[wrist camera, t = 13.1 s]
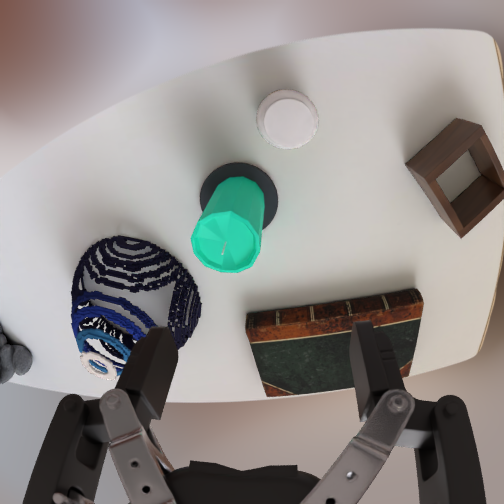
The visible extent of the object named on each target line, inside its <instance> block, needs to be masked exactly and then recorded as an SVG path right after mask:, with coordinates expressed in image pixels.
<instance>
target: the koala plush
mask: <svg viewBox="0 0 504 504" xmlns="http://www.w3.org/2000/svg"><path fill="white" fill-rule="evenodd" d="M6 343H7V339H6V337H5V336H4V335H3V334H2V328H1V325H0V383H2V384H3V383H5V382H7V381H8V380H10V379H11V378H12V376H13V375H14V372H16V374H18V375H20V376H21V375H24V374H25V373H26V372H28V371H29V369H30V367H31V365H32V356H31V354H30V352H29V351H28V350H27V349H26V348H25V347H23V346H21V345H8V344H7V345H6Z"/></svg>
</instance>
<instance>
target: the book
mask: <svg viewBox="0 0 504 504" xmlns="http://www.w3.org/2000/svg"><path fill="white" fill-rule="evenodd" d="M423 305H424V302H423V298H422V295H421V293H420V292H419V290H418V289H412V290H407V291H402V292H396V293H390V294H384V295H379V296H373V297H366V298H360V299H354V300H347V301H341V302H334V303H327V304H320V305H313V306H306V307H298V308H290V309H283V310H274V311H266V312H257V313H249V314H247V315H246V323H245V330H246V334H247V336H248V339H249V342H250V345H251V348H252V352H253V355H254V358H255V361H256V365H257V368H258V371H259V374H260V377H261V381H262V384H263V387H264V390H265V393H266V396H267V397H276V396H289V395H299V394H309V393H317V392H325V391H333V390H340V389H346V388H353V387H355V385H354V379H353V373H352V367H351V362H350V353H349V348H350V340H351V333H352V326H353V322H356V321H367V320H371V322H372V325H373V328H374V331H375V332H380V331H383V332H384V333H385V334H386V335H387V336H388V337H389V339H390V340H391V343H392V346H393V351H394V353H395V356H396V359H397V362H398V366H399V369H400V373H401V376H402V378H404V377H407V376H409V373H410V369H411V365H412V360H413V356H414V352H415V347H416V343H417V338H418V333H419V327H420V322H421V316H422V311H423Z"/></svg>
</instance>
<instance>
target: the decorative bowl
mask: <svg viewBox="0 0 504 504" xmlns="http://www.w3.org/2000/svg"><path fill="white" fill-rule="evenodd" d="M127 240H130V241H135V242H140V243H139V244H137V243H136V244H134V245H131V244H127V242H126V241H127ZM114 241H116V244H117V246H120V248H125V249H129V250H134V251H137V250H140V249H141V250H142V249H145V248H146V246H150V248H152V250H151V251H150V252H148V253H147V252H145V254H140V255H139V254H137V255H135V256H132V255H127V254H123V253H118V251H116V250H115V248H113V242H114ZM106 242H107V247H108V249H109V251H110V253H113V255H116V256H117V257H121V258H126V259H131V260H133V259H136V258H138V259H140V258H143V257H148V256H151V255H152V254H157V252H158V251H159V252H160V253H159V254H158V255H155V257H154V258H151V259H150V258H149V259H146V260H143V261H141V260H139V261H136V262H134V261H129V260H126V261H123V260H119V258H116V257H111V256H110V254H109V253H107V252H106V250H105V248H106V246H105V244H106ZM98 246H99V252H100V254H101V255H102V257H103V258H102V261H103V263H104V264H106V266H109V267H113V268H116V266H117V267H121V268H123V270H126V271H131V272H135V271H137V272H138V270H139V271H140V270H141V268H143V267H145V268H146V266H147V267H149V266H151V265H154V264H157V265H158V266H159V265H160V261H161V262H162V263H163V262H166V260H169V259H171V261H170V263H169V264H166V266H161V267H160V268H157V270H154V271H151V270H149V272H144V273H142V272H141V274H140V273H139V274H134V273H132V274H131V276H128V275H127V273H123V272H119V271H114V270H110V269H108V270H105V269H106V267H105V265H102V263H100V262H99V260H98V259H97V258H96V257H97V255H96V251H97V248H98ZM90 255H91V261H92V265H96V264H97V265H96V266H95V268H97V269H98V270H99V273H100V275H102V276H106V275H109V276H113V277H117V278H122V279H126V280H128V282H131V283H134V282H138V284H135V286H131V287H129V286H124V284H123V283H119V282H115V281H111V280H108V278H105V277H100V278H98V274H97V273H96V272H95V271H92V266H90V262H89V258H90ZM176 260H177V259H175V257H173V256H171V254H169V252H165V250H164V249H160V247H157V246H156V244H151V242H149V241H144V240H139V239H134V238H129V237H124V236H119V235H118V237H115V236H113V238H111V239H109V238H105V239H102V240H101V241H100V242H99V241H98V242H97V243H96V244H95V245H92V247H89V249H88V250H87V252H85V254H84V255H83V256H82V257H81V260H80V261H79V264H78V266H77V268H76V270H75V274H74V275H75V276H73V277H74V278H73V281H72V282H73V285H72V291H71V295H72V311H71V312H72V314H71V318H72V323H71V325H72V329H73V332H74V336H75V338H76V342H77V345H78V348H79V351H80V353H82V356H80V359H81V362H82V365H84V366H85V368H86V369H87V370H88V372H90V373H91V374H94V375H96V377H99V378H102V379H105V380H107V379H109V380H114V379H116V376H119V375H121V373H122V371H123V369H121V368H118V367H115V366H113V365H116V366H120V367H123V368H124V366H125V364H121V363H118V362H115V360H111V359H110V358H108V357H105V355H102V354H100V352H99V351H96V350H95V349H94V348H93V347H92V346H90V345H89V343H88V342H87V341H86V339H88V338H90V339H93V338H94V339H97V340H98V339H99V340H100V342H101V344H102V346H103V347H104V348H105V349H106V351H108V352H109V353H110V354H111V355H112V356H115V357H117V358H119V359H122V360H124V361H126V362H127V359H128V357H129V355H130V353H131V352H130V351H132V348H133V346H134V344H135V343H134V342H133V340H135V341H138V340H139V339H140V338H141V337H146V334H144V333H143V332H141V328H139V326H136V325H135V324H134V322H132V321H130V319H127V318H126V317H125V316H122V315H121V314H120V313H116V312H115V310H111V309H108V308H104V307H100V306H97V305H95V306H94V305H92V304H91V301H89V300H90V299H93V300H95V299H99V300H102V301H106V302H110V303H114V304H117V305H121V306H122V307H123V308H124V310H128V311H130V314H131V315H135V316H137V318H139V320H141V322H143V324H145V328H149V329H150V328H151V327H152V326H157V325H156V324H155V323H154V321H153V320H152V319H151V318H150V317H149V316H148V315H147V313H145V311H141V309H139V308H138V306H134V305H132V303H130V301H127V300H126V298H122V297H119V298H116V297H112V296H108V295H104V294H102V292H99V291H94V292H93V291H91V293H90V292H87V291H86V289H85V288H84V282H83V276H84V274H83V271H84V266H86V268H87V271H88V273H89V274H91V275H90V277H91V279H93V278H95V282H96V283H97V284H100V283H103V284H104V285H105V286H109V287H113V288H117V289H121V290H123V289H128V290H130V292H133V293H136V292H139V289H140V290H144V291H149V290H150V291H151V290H156V289H159V287H162V286H165V285H166V286H167V285H168V283H171V281H176V283H175V287H174V290H176V291H173V295H172V300H171V305H170V309H169V316H168V320H170V322H172V325H170V322H168V326H167V327H169V329H170V331H171V334H172V337H173V339H174V342H175V344H176V347H177V349H178V350H179V348H181V347H183V346H184V345H185V343H186V342H187V340H188V338H191V336H192V334H193V331H194V329H195V327H196V326H197V324H198V318H200V316H201V305H202V303H200V297H199V292H197V288H198V286H196V284H194V280H193V277H191V275H189V273H187V269H184V267H182V263H178V261H176ZM84 262H85V263H84ZM115 263H116V264H115ZM174 264H175V266H177V265H178V268H175V270H174V271H172V272H171V275H170V276H169V275H167V276H165V277H162V280H161V279H159V280H156V281H153V282H152V281H151V282H148V283H147V285H145V286H143V284H142V283H139V282H144V279H145V278H146V279H147V277H148V278H152V277H155V278H157V277H159V278H160V274H163V273H164V272H166V271H167V273H169V270H170V268H171V270H173V266H174ZM124 265H126V267H124ZM180 268H181V270H180ZM179 270H180V272H179ZM182 271H183V273H184V274H183V275H182ZM178 274H179V275H181V276H180V278H179V279H177V276H178ZM185 275H186V278H187V281H184V279H185ZM133 277H137V279H134V278H133ZM169 277H170V278H169ZM80 278H81V283H82V290H80V289H79V286H78V285H79V282H80ZM158 283H160V285H158ZM149 285H150V286H152V288H151V287H150V286H149ZM180 285H181V286H182V285H183V287H180ZM190 285H191V286H190ZM193 286H194V287H193ZM177 288H179V289H177ZM187 288H190V290H189V289H187ZM181 289H182V290H181ZM192 289H193V291H194V293H193V298H192V301H191V306H190V311H189V317H188V326H187V325H185V321H186V315H187V309H188V304H189V300H190V294H191V292H192ZM188 292H189V294H188ZM180 293H181V294H180ZM196 293H197V294H196ZM187 296H188V297H187ZM195 296H196V298H195ZM179 297H180V298H179ZM184 299H187V301H186V300H184ZM194 300H195V302H194ZM83 301H84V302H83ZM178 301H179V303H178ZM88 302H89V305H88V306H87V307H83V308H82V309H78V308H77V307H78V305H80V306H84V305H85V306H86V305H87V303H88ZM176 304H178V306H177V305H176ZM193 304H194V306H193ZM185 305H186V306H185ZM177 307H178V309H180V310H177ZM184 309H185V313H184ZM192 309H193V311H192ZM172 310H173V311H174V312H172ZM176 311H177V313H176ZM102 315H103V316H105V318H107V320H110V321H113V322H114V323H115V324H118V325H120V327H124V328H126V331H127V332H129V334H133V336H132V335H129V334H125V333H123V332H122V331H121V330H118V329H117V328H114V327H113V325H111V324H110V323H108V321H107V320H105V318H104V317H102ZM183 315H184V319H183ZM191 315H192V317H191ZM86 317H88V318H86ZM95 317H96V318H98V317H99V318H98V319H97V321H95V322H94V323H93V319H94V318H95ZM85 318H86V319H85ZM100 318H101V321H100V323H98V322H99V320H100ZM176 319H178V322H175V320H176ZM190 320H191V328H190ZM103 321H104V322H103ZM89 322H92V323H93V326H92V325H89V326H84V325H83V324H85V323H86V324H89ZM102 322H103V323H102ZM101 323H102V325H101ZM105 323H106V325H105V326H106V329H105V331H106V332H104V329H103V328H104V327H105V326H104V324H105ZM98 324H99V325H100V327H99V328H98V329H97V328H96V327H97V326H98ZM178 324H180V327H178ZM182 324H183V326H185V328H182ZM79 325H80V328H81V329H83V330H82V331H80V329H79ZM174 326H175V337H174V331H172V327H174ZM113 330H115V332H116V333H115V334H114V335H115V337H113V336H114V335H113V333H114V331H113ZM111 331H112V333H111V335H112V336H110V334H109V333H110V332H111ZM121 334H122V336H123V337H122V342H123V343H121V341H119V340H120V338H119V337H120V335H121ZM182 334H183V335H182ZM132 339H133V340H132ZM105 342H107V344H108V345H105V344H106V343H105ZM108 346H109V347H108ZM109 348H111V349H109ZM88 349H89V350H88ZM113 350H114V351H113ZM118 351H119V352H118ZM93 359H94V360H95V361H97V362H99V363H100V364H102V365H103V366H106V368H107V369H106V368H105V367H102V366H99V365H98V364H97V363H95V362H93ZM90 363H91V365H90ZM92 366H95V368H97V369H99V370H101V371H102V372H100V371H97V370H95V369H94V368H93V367H92ZM103 372H105V373H103Z"/></svg>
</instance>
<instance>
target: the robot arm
mask: <svg viewBox="0 0 504 504" xmlns="http://www.w3.org/2000/svg"><path fill="white" fill-rule="evenodd" d="M349 353H350V362H351V367H352V373H353V379H354V385H355V390H356V398H357V404H358V411H359V418H360V422H364V421H366V422H365V424H364V425H363V427H362V428H361V430H360V431H359V433H358V434H357V435H356V436H355V437H353V439H352V440H351V441H350V442H349V444H348V445H347V446H346V448H345V449H344V450H343V452H342V453H341V454H340V456H339V457H338V458H337V460H336V461H335V462H334V464H333V465H332V466H331V468H330V469H329V470H328V471H327V473H326V474H325V475H324V476H323V478H322V479H319V478H317V477H316V476H314V475H312V474H309V473H306V472H302V471H297V465H286V466H285V465H283V466H282V465H281V466H266V467H261V468H256V469H251V470H245V471H240V470H236V469H233V468H229V467H226V466H223V465H220V464H217V463H209V462H199V461H190V465H189V467H183V468H179V469H176V470H174V468H173V467H172V465H171V464H170V462H169V461H168V459H167V458H166V456H165V454H164V452H163V451H162V448H161V446H160V444H159V443H158V440H157V438H156V436H155V434H154V432H153V430H152V428H151V426H150V422H151V419H157V420H160V419H161V415H162V412H163V408H164V405H165V402H166V398H167V395H168V392H169V389H170V385H171V382H172V379H173V375H174V372H175V369H176V366H177V363H178V349H177V347H176V344H175V342H174V339H173V337H172V334H171V331H170V329H169V327H162V326H152V327H151V328H150V329H149V332H148V334H147V336H146V337H141V338H140V339H139V340H138V341H137V342H136V343H135V344H134V346H133V348H132V351H131V353H130V355H129V357H128V359H127V362H126V364H125V366H124V368H123V371H122V373H121V375H120V378H119V380H118V382H117V385H116V387H115V389H112V390H109V391H107V392H106V393H105V394H103V396H102V397H101V399H95V400H87V401H84V400H83V399H82V398H81V397H80V396H79V395H77V394H70V395H67V396H65V397H64V398H63V399H62V400H61V401H60V403H59V405H58V407H57V410H56V412H55V414H54V417H53V419H52V421H51V424H50V426H49V429H48V431H47V434H46V436H45V439H44V442H43V444H42V447H41V450H40V453H39V455H38V458H37V461H36V464H35V466H34V469H33V472H32V475H31V478H30V481H29V484H28V488H27V491H26V494H25V497H24V500H23V504H95V503H94V498H95V494H96V490H97V486H98V482H99V478H100V475H101V471H102V467H103V463H104V460H105V456H106V453H107V449H108V447H109V451H110V453H111V456H112V459H113V462H114V464H115V467H116V469H117V472H118V475H119V477H120V479H121V482H122V484H123V486H124V489H125V491H126V493H127V496H128V498H129V500H130V503H129V504H357V503H358V502H359V500H360V499H361V497H362V496H363V495H364V493H365V492H366V490H367V489H368V488H369V486H370V485H371V483H372V481H373V480H374V479H375V477H376V476H377V474H378V473H379V471H380V470H381V468H382V466H383V465H384V463H385V462H386V460H387V458H388V457H389V455H390V453H391V451H392V449H393V447H394V446H401V447H409V448H414V451H415V459H416V468H417V477H418V487H419V500H420V504H486V497H485V491H484V484H483V478H482V473H481V467H480V462H479V457H478V452H477V448H476V443H475V439H474V435H473V431H472V427H471V423H470V419H469V416H468V412H467V408H466V405H465V403H464V402H463V400H462V399H460V398H459V397H457V396H454V395H446V396H443V397H441V398H440V399H439V400H438V401H437V402H431V401H422V400H418V399H415V398H414V397H412V395H411V394H410V393H408V392H407V391H406V389H405V387H404V383H403V380H402V376H401V373H400V369H399V366H398V362H397V359H396V356H395V353H394V351H393V346H392V343H391V340H390V339H389V337H388V336H387V335H386V334H385V333H384V332H383V331H380V332H375V331H374V328H373V325H372V322H371V320H367V321H356V322H353V326H352V333H351V340H350V348H349ZM109 442H111V443H110V444H109Z"/></svg>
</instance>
